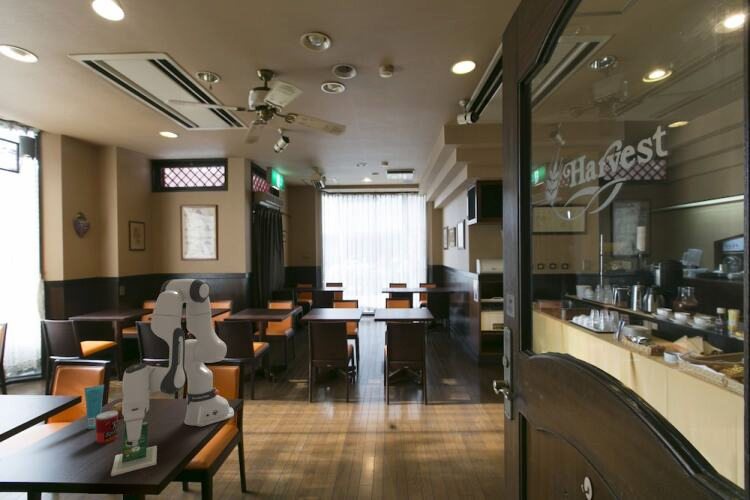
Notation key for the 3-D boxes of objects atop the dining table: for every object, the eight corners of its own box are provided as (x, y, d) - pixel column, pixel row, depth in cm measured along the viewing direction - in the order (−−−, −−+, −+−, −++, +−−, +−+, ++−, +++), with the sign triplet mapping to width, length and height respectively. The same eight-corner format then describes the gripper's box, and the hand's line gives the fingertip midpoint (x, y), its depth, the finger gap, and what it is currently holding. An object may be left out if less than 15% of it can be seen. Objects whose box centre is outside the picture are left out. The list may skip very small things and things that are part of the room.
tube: (103, 422, 171) (103, 383, 171) (104, 426, 167) (104, 385, 168) (83, 428, 166) (83, 386, 166) (84, 431, 162) (84, 389, 163)
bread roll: (123, 417, 185) (118, 403, 186) (139, 409, 184) (133, 395, 185) (107, 426, 175) (101, 411, 176) (123, 418, 174) (117, 403, 175)
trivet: (156, 447, 147) (157, 445, 147) (156, 464, 135) (156, 461, 135) (115, 457, 140) (115, 455, 140) (111, 476, 128) (111, 473, 128)
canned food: (106, 444, 150) (106, 418, 151) (91, 443, 152) (91, 417, 152) (122, 436, 158) (122, 411, 158) (107, 434, 159) (108, 409, 160)
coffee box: (147, 453, 141) (148, 420, 142) (146, 457, 139) (148, 423, 139) (122, 458, 137) (124, 424, 137) (121, 462, 134) (123, 427, 135)
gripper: (128, 399, 146) (128, 433, 145) (123, 418, 128) (123, 457, 128) (146, 396, 149) (146, 429, 149) (144, 414, 131) (144, 452, 131)
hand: (135, 442), depth 138 cm, fingers closed on coffee box, 3 cm apart
